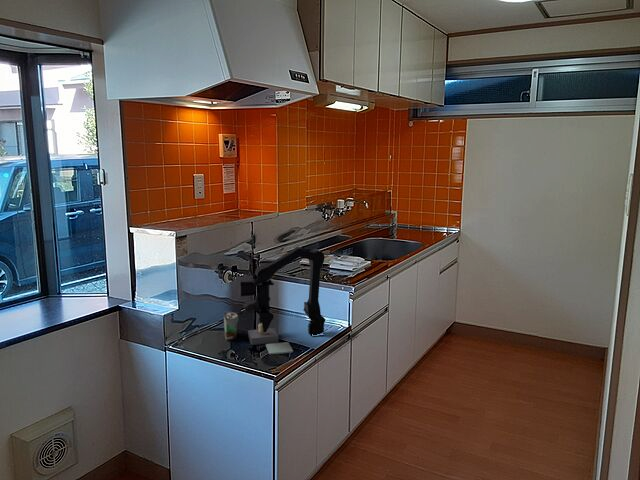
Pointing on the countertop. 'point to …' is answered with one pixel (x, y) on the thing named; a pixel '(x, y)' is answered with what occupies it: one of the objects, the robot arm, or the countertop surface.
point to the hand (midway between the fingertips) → (263, 328)
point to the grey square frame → (263, 337)
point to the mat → (279, 348)
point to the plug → (262, 330)
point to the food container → (230, 325)
